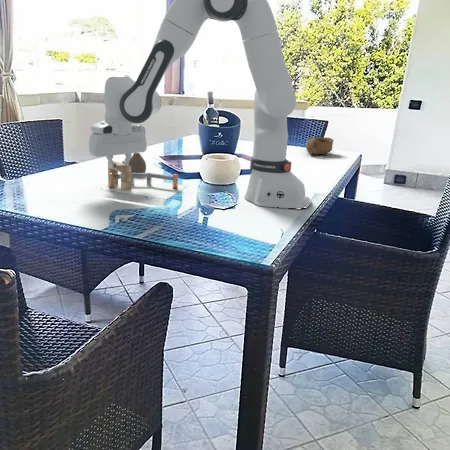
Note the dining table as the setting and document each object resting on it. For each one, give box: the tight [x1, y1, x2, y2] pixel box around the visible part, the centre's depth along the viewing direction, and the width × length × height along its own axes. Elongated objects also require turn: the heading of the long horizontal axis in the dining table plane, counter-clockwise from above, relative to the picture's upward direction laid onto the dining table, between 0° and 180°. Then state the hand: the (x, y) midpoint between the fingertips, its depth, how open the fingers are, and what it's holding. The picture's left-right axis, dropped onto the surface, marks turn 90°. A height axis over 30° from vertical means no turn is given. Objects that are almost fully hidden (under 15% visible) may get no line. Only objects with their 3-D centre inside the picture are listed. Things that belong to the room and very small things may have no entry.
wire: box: [108, 172, 179, 189], centre depth 170 cm, size 23×6×5 cm, turn 100°
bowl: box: [305, 136, 334, 155], centre depth 250 cm, size 18×14×10 cm
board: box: [101, 177, 188, 200], centre depth 170 cm, size 24×19×1 cm
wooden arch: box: [107, 160, 131, 191], centre depth 167 cm, size 3×10×8 cm, turn 42°
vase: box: [129, 152, 147, 173], centre depth 186 cm, size 7×7×9 cm
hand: (119, 167), depth 167 cm, fingers open, 3 cm apart
